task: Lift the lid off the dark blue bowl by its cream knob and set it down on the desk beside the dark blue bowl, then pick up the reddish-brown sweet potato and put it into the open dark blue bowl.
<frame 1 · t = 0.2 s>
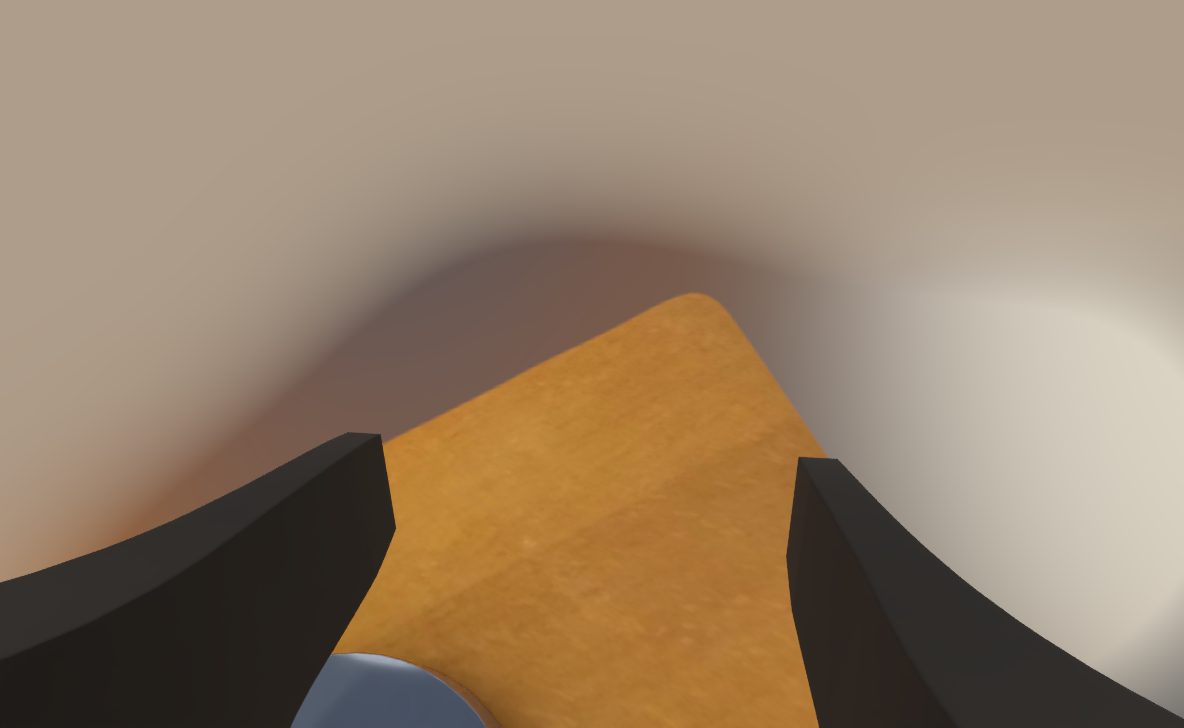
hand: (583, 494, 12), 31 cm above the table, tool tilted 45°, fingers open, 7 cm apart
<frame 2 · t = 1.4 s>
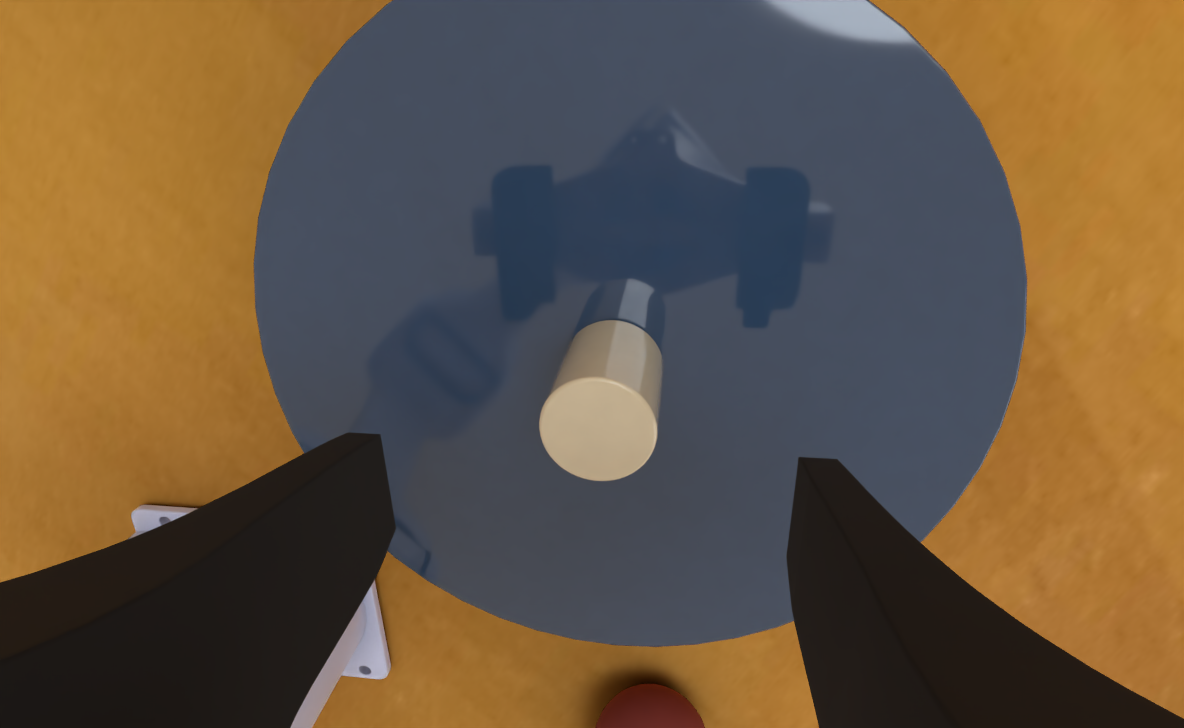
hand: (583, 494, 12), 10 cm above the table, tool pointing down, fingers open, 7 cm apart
lid: (615, 357, 17), point 5 cm above the table, touching dark blue bowl
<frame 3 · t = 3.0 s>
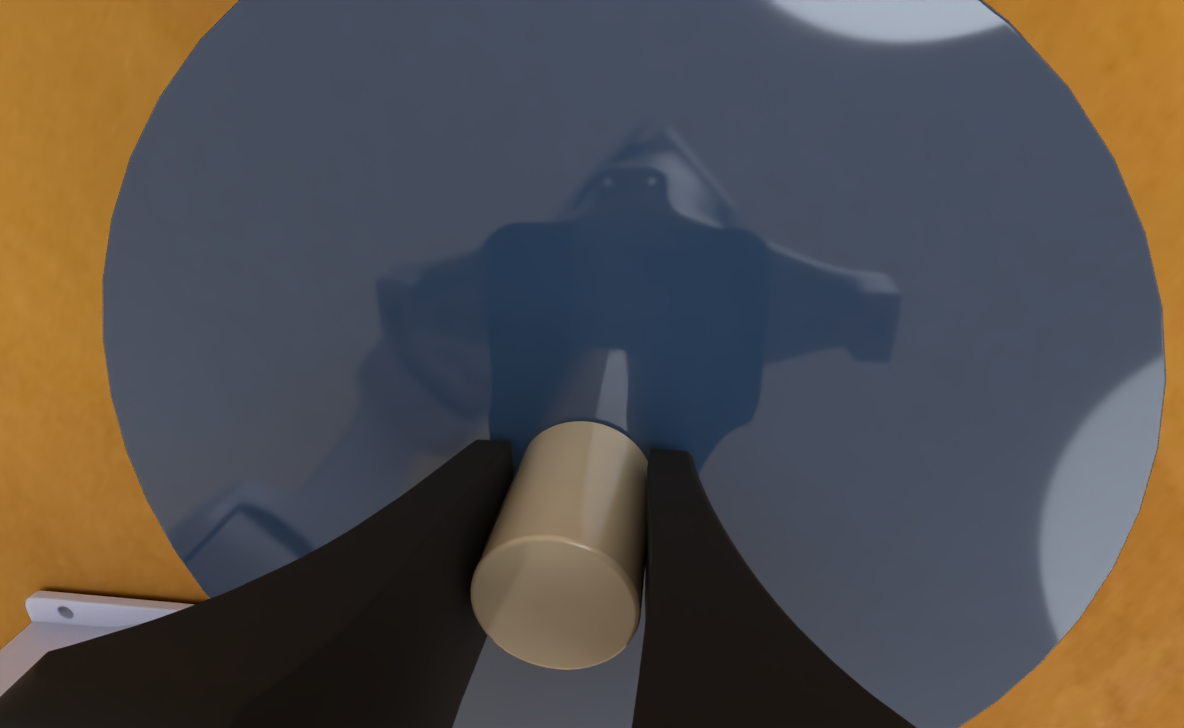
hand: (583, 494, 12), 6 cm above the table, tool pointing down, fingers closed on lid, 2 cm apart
lid: (589, 462, 13), point 5 cm above the table, touching gripper, dark blue bowl
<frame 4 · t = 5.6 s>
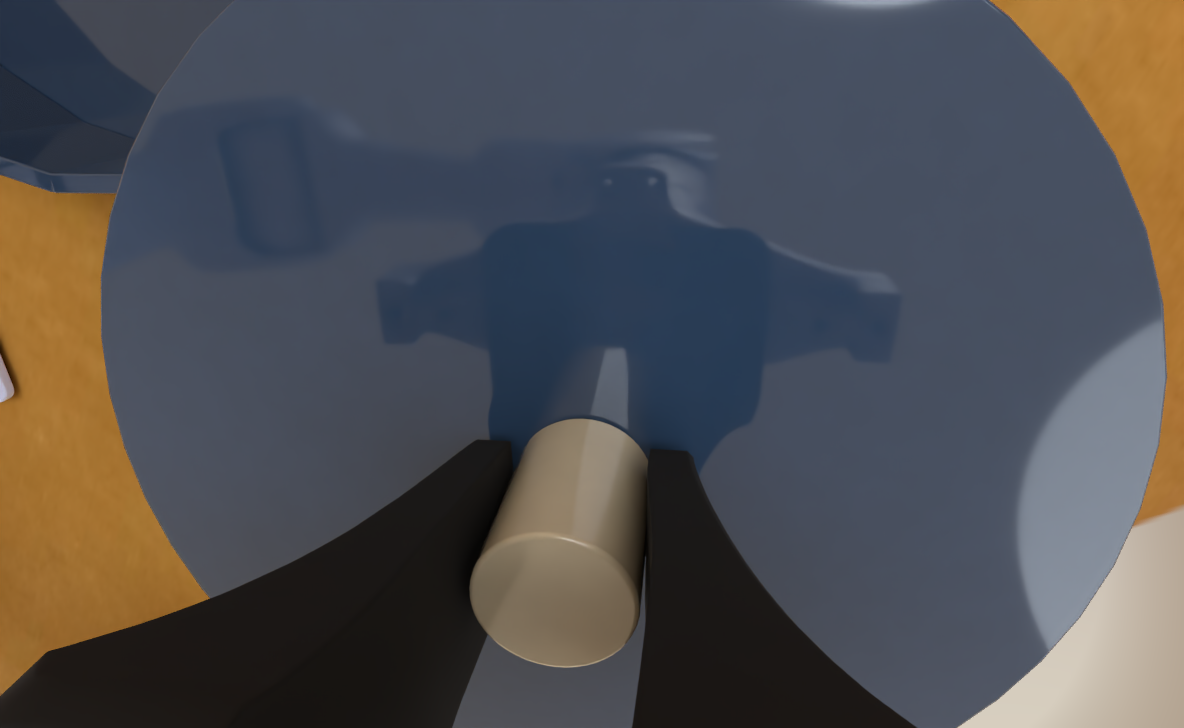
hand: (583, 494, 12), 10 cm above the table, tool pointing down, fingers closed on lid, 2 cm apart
lid: (589, 460, 13), point 9 cm above the table, touching gripper
when the fingers open (2 cm above the table, at t = 8.0 s): lid stays where it is, point 1 cm above the table.
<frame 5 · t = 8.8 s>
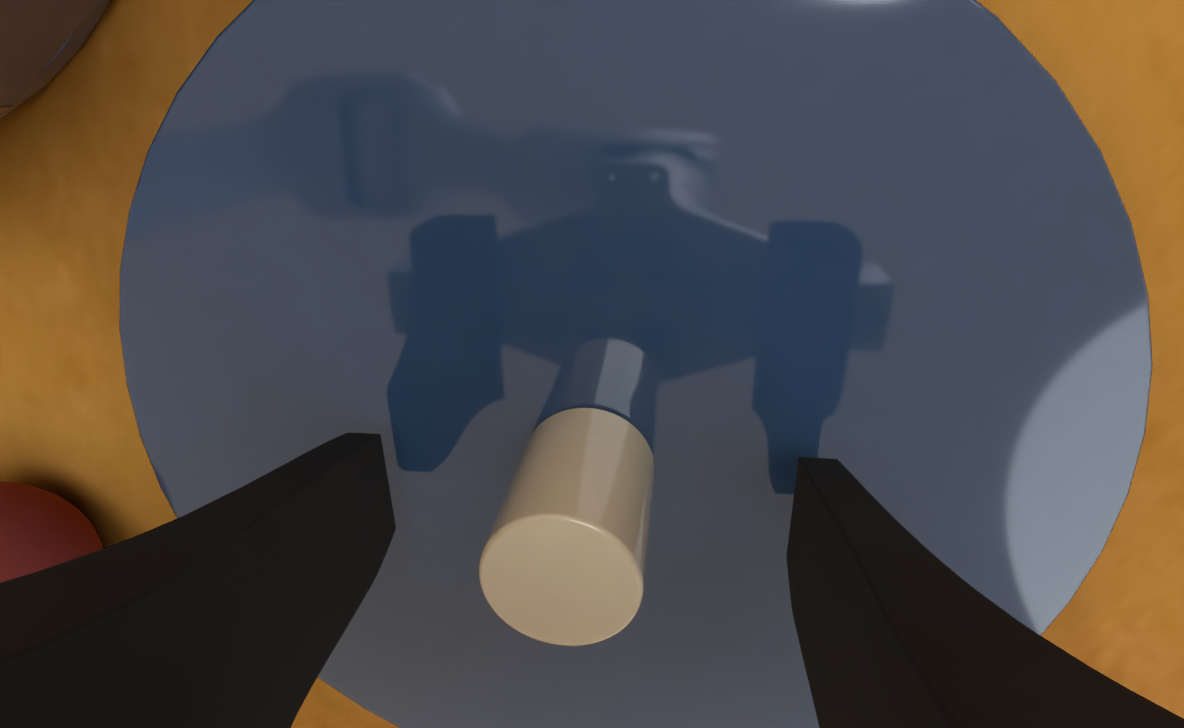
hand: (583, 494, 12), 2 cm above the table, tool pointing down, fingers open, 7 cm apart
sweet potato: (88, 580, 18), on the table
lid: (593, 449, 13), point 1 cm above the table
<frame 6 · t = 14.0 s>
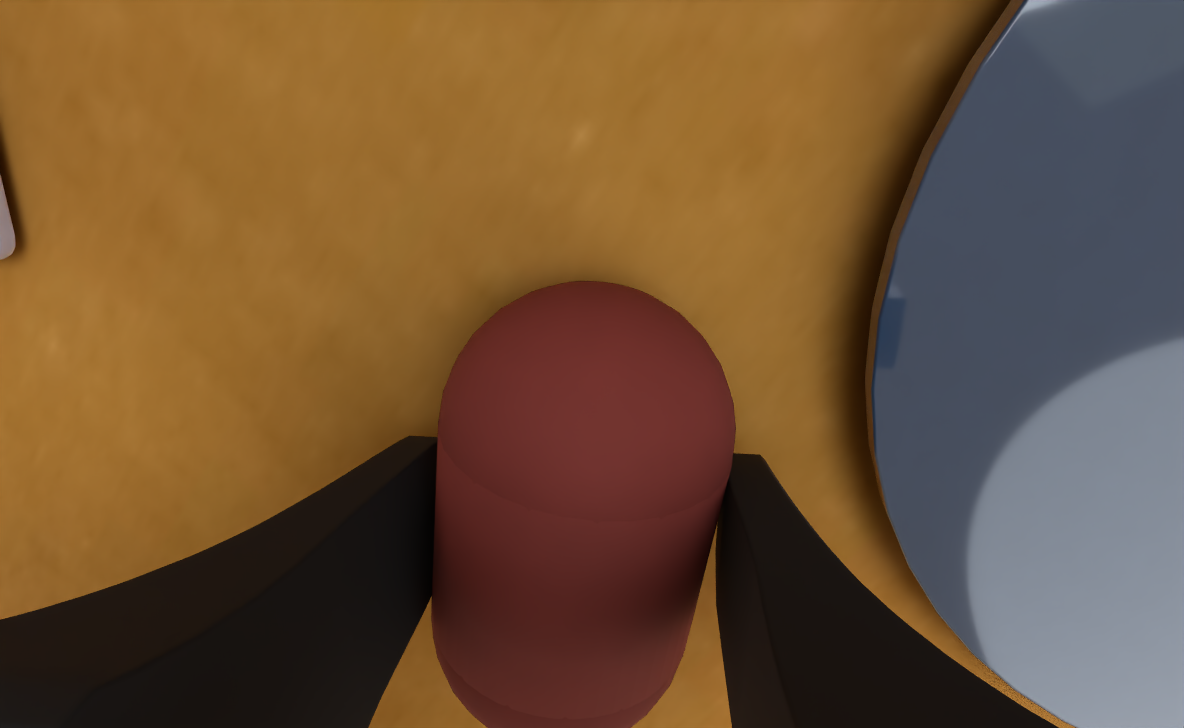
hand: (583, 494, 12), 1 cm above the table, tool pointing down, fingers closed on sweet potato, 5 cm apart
sweet potato: (591, 451, 13), on the table, touching gripper
when the fingers open (2 cm above the table, at t = 19.6 s): sweet potato stays where it is, resting on dark blue bowl.
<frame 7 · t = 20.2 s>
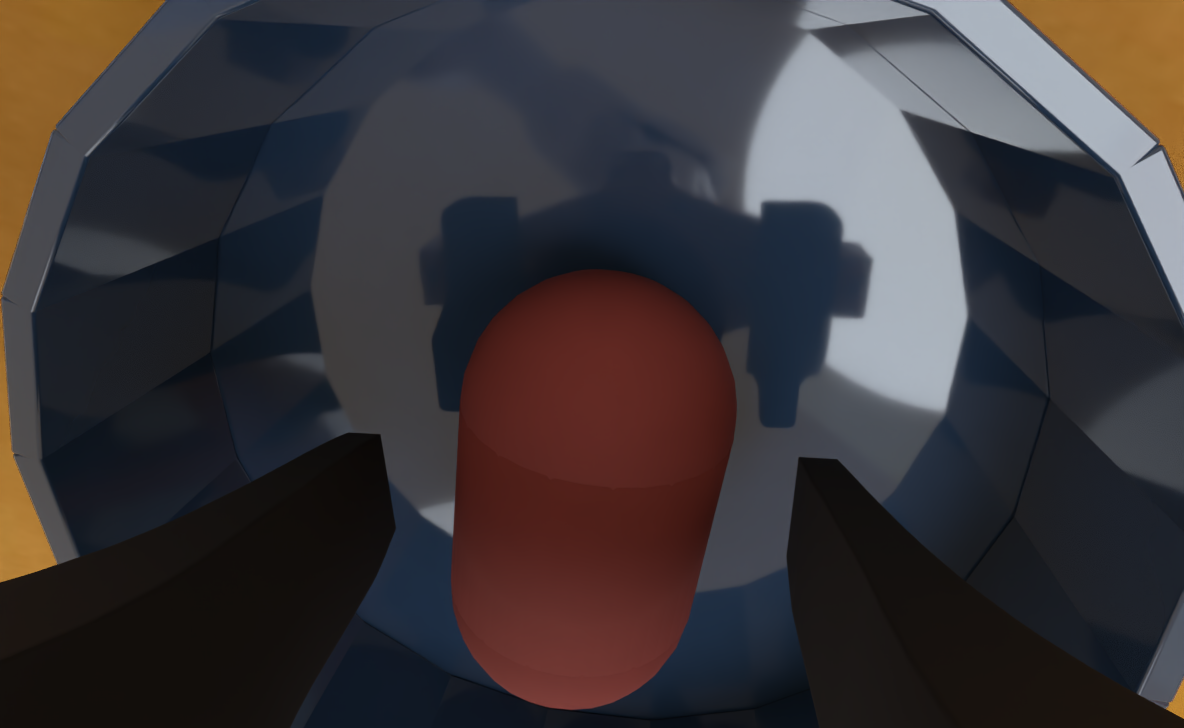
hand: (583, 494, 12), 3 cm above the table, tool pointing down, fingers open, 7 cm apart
sweet potato: (597, 432, 14), resting on dark blue bowl
dark blue bowl: (602, 420, 14), on the table
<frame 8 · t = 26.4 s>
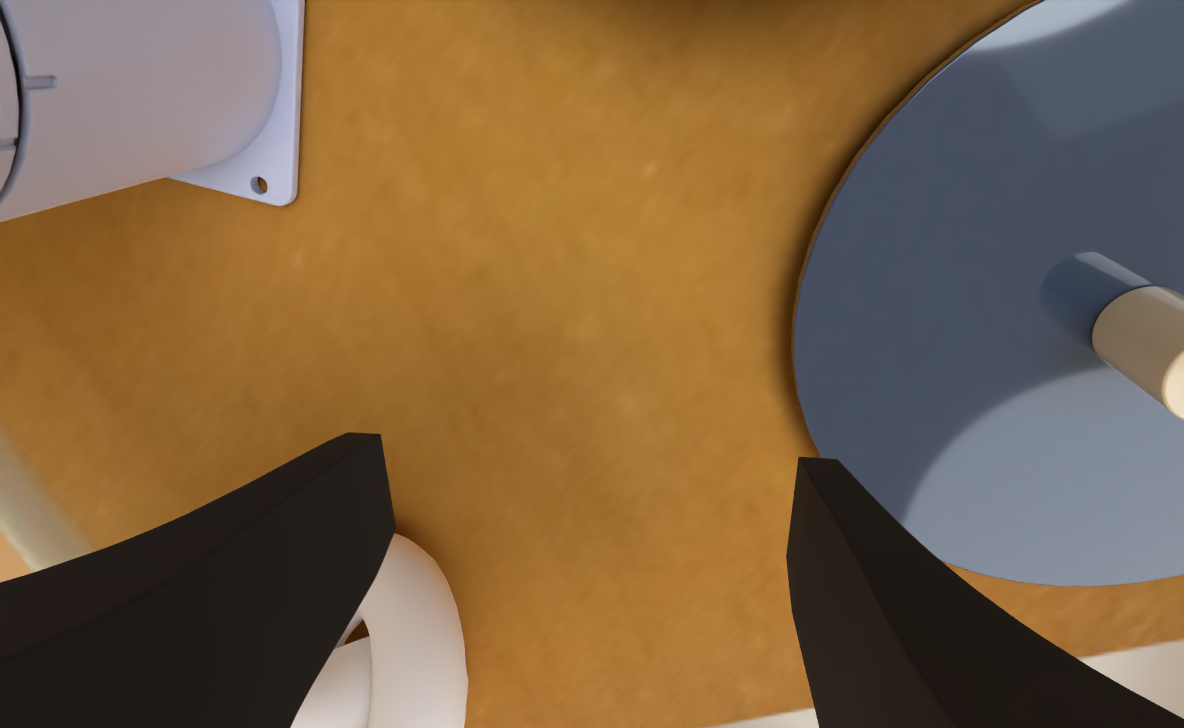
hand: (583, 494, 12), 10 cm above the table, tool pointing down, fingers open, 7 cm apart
white twisted tube: (357, 602, 29), on the table
lid: (1129, 320, 19), point 1 cm above the table
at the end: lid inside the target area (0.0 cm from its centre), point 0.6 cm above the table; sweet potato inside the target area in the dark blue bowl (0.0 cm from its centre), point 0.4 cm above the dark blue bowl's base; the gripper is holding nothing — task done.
